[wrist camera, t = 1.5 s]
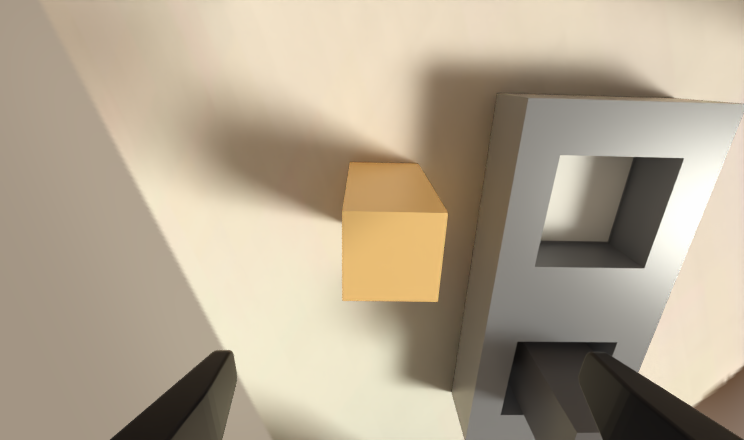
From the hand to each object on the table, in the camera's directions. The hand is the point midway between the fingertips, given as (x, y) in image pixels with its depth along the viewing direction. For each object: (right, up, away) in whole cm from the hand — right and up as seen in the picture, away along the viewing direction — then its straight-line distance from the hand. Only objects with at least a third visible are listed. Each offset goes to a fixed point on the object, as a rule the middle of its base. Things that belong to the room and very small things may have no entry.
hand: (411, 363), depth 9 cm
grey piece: (+11, 0, +15) cm, 18 cm away
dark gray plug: (+10, -5, +16) cm, 20 cm away
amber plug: (0, +5, +12) cm, 14 cm away
